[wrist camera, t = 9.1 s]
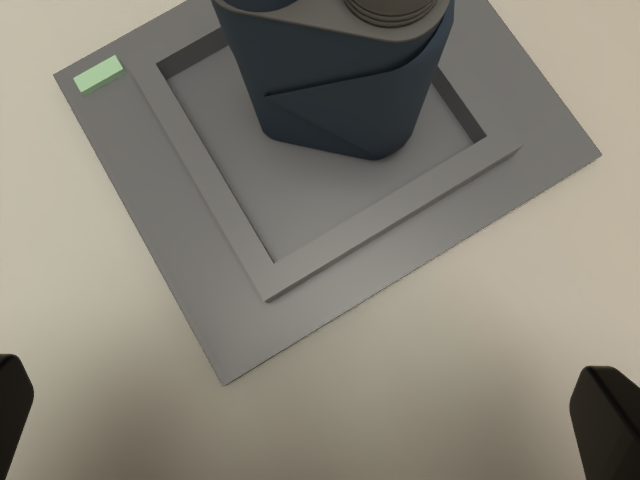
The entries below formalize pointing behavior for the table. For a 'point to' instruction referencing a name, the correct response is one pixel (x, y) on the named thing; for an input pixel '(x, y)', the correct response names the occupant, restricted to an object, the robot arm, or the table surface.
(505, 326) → the table surface
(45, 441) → the table surface
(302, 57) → the vaping device
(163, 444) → the table surface
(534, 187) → the dock
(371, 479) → the table surface
